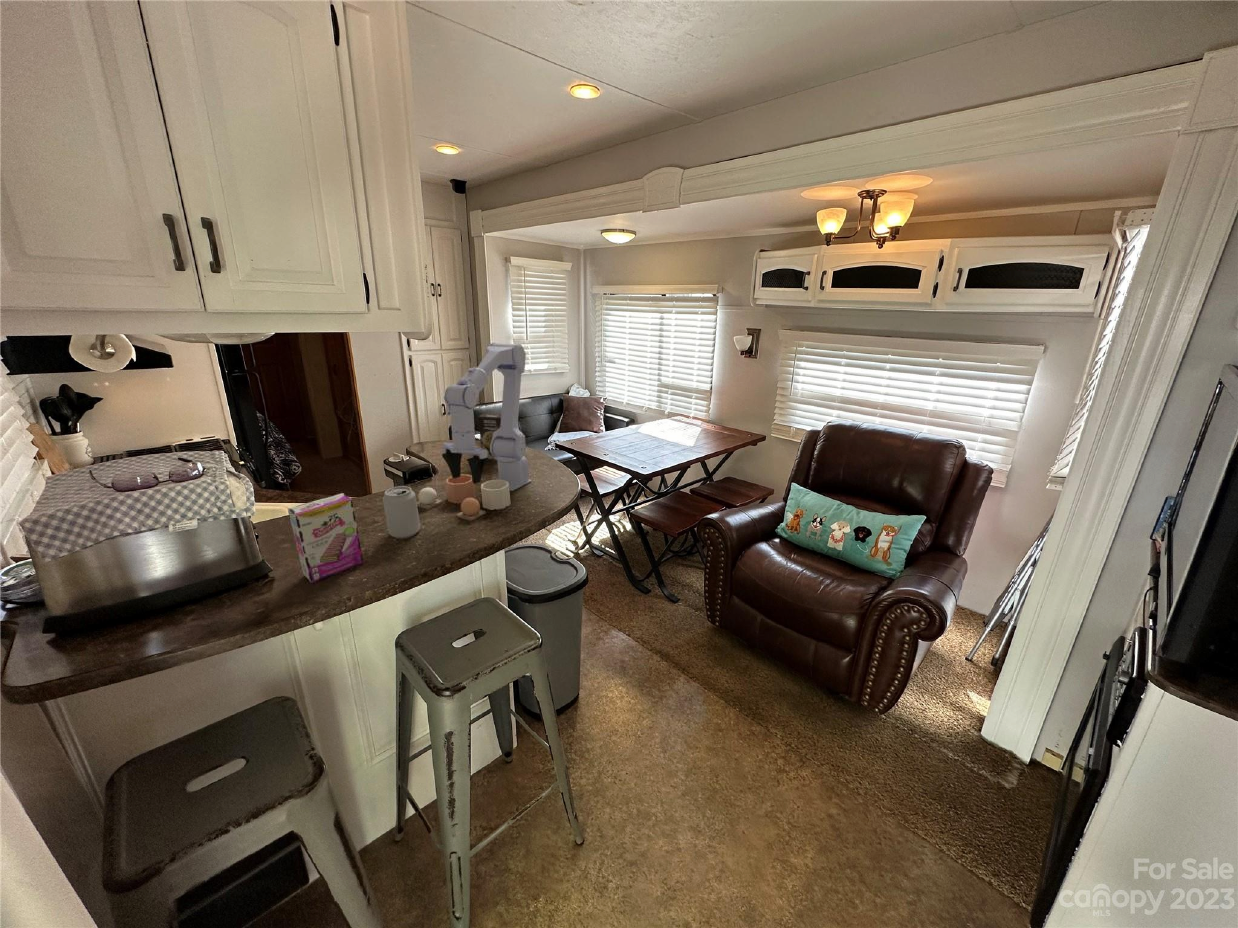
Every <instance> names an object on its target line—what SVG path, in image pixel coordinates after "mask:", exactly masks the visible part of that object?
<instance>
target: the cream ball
mask: <svg viewBox="0 0 1238 928" xmlns="http://www.w3.org/2000/svg"><path fill="white" fill-rule="evenodd" d="M437 497H438V493H437V492H436V490H435V489H433V488H432V487H424V488H422V489H421V490H420V491H419V492H418V500H419V501H420V502H421V503H423V504H425V505H430V504H432V503H435V501H436V499H438V498H437Z"/></svg>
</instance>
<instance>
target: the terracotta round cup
mask: <svg viewBox="0 0 1238 928" xmlns="http://www.w3.org/2000/svg"><path fill="white" fill-rule="evenodd" d="M445 487H446V494H447V502H449V503H453V504H456V503H457V504H462V502H463V501H464V500H465V499H467V498H474V499H476V488H475V487H476V486H475V484H474V483H473V481H472V474H466V473H465V474H463V473H461V475H460V477H458V478H455V479H454V478H453V477H452V476H449V477H447V478H446V481H445Z"/></svg>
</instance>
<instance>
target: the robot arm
mask: <svg viewBox="0 0 1238 928" xmlns="http://www.w3.org/2000/svg"><path fill="white" fill-rule="evenodd" d="M485 351H486V352H485V353H486V354H485V356H484V357H483V359H482V360H481V361H480V363H479V364H478V366H477V367H470V368H468V369H467V372H466V373H465V374H464V375H463V376H462V377H461V378H460V379H459V380H458V381H457V382H456V383H455V384H453V383H452V384H450V385H449V386H448V387H446V389H445V392H444V396H443V400H444V403H445V404H446V406H447V412H448V413H449V414H450V423H451V424H450V425H451V439H452V442H445V443H442V451H443V452H445V453H442V454H441V457H442V458H443V460H444V462H446V465H447V466H448V469H449V471H450V475H451V477H453V478H454V479H455V478H458V477H460V475H462V473H461V472H462V471H461V470H462V467H461V464H462V457H463V455H467V456H470V457H469V458H466V461H467V463H468V465H469V468H470V473H471V474H470V475H471V476H472V481H473V483H474V485H475V484H478V483H480V482H481V480H482V475H483V471H484V469H485V465H486V464H487V462H488V461H489V459H488V456H487V450H484V449H482V448H481V447H480V446H477V445H476V431H475V418H474V417H475V415H474V407H475V406H476V405H477V403H478V398H479V397H480V392H482V390H483V389H484V388H485V386H486V385H488V382H489V378H488V377H489V375H492V373H493V372H494V371H495V370H497V372H500V373H501V375H502V376H503V387H502V388H503V389H502V402H501V413H500V414H501V426H500V428H499V429H498V430H496V431H495V432H494V433H493V438H492V441H491V444H490V451H491V454H492V455H493V456H495V459H494V460H496V461H497V471H498V480H504V481H508V482H509V491H511V492H513V491H515V490H517V489H520V488H521V487H523V486H525V485H527V484H530V483H531V482H532V480H531V479H530V471H529V470H530V469H529V461H528V460H527V458H526V456H525V455H526V452H527V445H526V435H525V434H524V433H523V432H522V431H521V430H520V429H519V428H518V427H519V425H518V423H519V412H520V411H519V408H520V399H521V384H522V374H524V373H525V369H526V358H527V357H526V356H527V354H526V351H525V349H524V347H523V345H522V344H520V343H497V342H491V343H489V344H488V346H487V347H486V350H485ZM504 436H505V437H509V438H503V437H504Z"/></svg>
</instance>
